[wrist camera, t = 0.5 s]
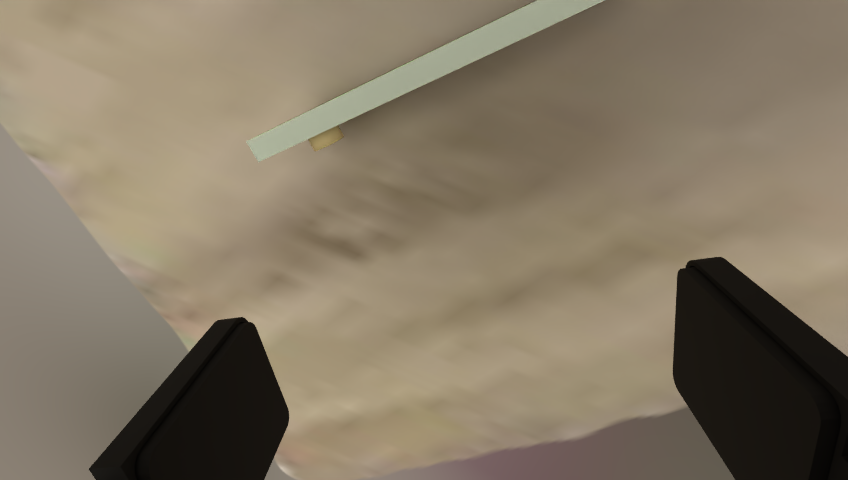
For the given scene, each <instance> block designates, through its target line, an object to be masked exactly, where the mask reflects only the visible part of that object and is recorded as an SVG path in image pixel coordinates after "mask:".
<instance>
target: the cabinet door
mask: <svg viewBox="0 0 848 480" xmlns="http://www.w3.org/2000/svg"><path fill="white" fill-rule="evenodd" d="M603 1H605V0H536V1H534V2H532V3H530V4H528V5H526V6H524V7H522V8H520V9H517V10H515V11H513V12H511V13H509V14H507V15H505V16H503V17H501V18H499V19H497V20H495V21H493V22H491V23H489V24H487V25H485V26H482V27H480V28H478V29H476V30H474V31H472V32H470V33H468V34H466V35H464V36H462V37H460V38H458V39H456V40H454V41H452V42H449V43H447V44H445V45H443V46H441V47H439V48H437V49H435V50H433V51H431V52H429V53H427V54H425V55H423V56H421V57H419V58H417V59H414V60H412V61H410V62H408V63H406V64H404V65H402V66H400V67H398V68H396V69H394V70H392V71H390V72H388V73H386V74H384V75H381V76H379V77H377V78H375V79H373V80H371V81H369V82H367V83H365V84H363V85H361V86H359V87H357V88H355V89H353V90H351V91H348V92H346V93H344V94H342V95H340V96H338V97H336V98H334V99H332V100H330V101H328V102H326V103H324V104H322V105H320V106H318V107H316V108H313V109H311V110H309V111H307V112H305V113H303V114H301V115H299V116H297V117H295V118H293V119H291V120H289V121H287V122H285V123H283V124H281V125H279V126H277V127H275V128H273V129H271V130H269V131H267V132H265V133H263V134H260V135H258V136H256V137H254V138H252V139H250V140H248V141H246V142H247V144H248V145H249V147H250V149H251V150H252V152H253V154H254V155H255V157H256V159H257V160H258V162H260V161H262V160H264V159H266V158H269V157H271V156H273V155H275V154H277V153H279V152H281V151H284V150H286V149H288V148H290V147H292V146H294V145H296V144H299V143H301V142H303V141H305V140H307V139H308V140H309V142H310V144H311V146H312V147H313V149H314V151H317V150H320V149H322V148H325V147H327V146H329V145H331V144H333V143H335V142H337V141H338V140H340V139H342V138H343V137H344V136H343V134H342V132H341V130H340V128H339V126H338V125H339V124H341V123H344V122H346V121H348V120H350V119H352V118H354V117H356V116H359V115H361V114H363V113H365V112H367V111H369V110H371V109H374V108H376V107H378V106H380V105H382V104H384V103H386V102H389V101H391V100H393V99H395V98H397V97H399V96H401V95H404V94H406V93H408V92H410V91H412V90H414V89H416V88H418V87H421V86H423V85H425V84H427V83H429V82H431V81H433V80H436V79H438V78H440V77H442V76H444V75H446V74H448V73H451V72H453V71H455V70H457V69H459V68H461V67H463V66H466V65H468V64H470V63H472V62H474V61H476V60H478V59H481V58H483V57H485V56H487V55H489V54H491V53H493V52H496V51H498V50H500V49H502V48H504V47H506V46H508V45H511V44H513V43H515V42H517V41H519V40H521V39H523V38H526V37H528V36H530V35H532V34H534V33H536V32H538V31H541V30H543V29H545V28H547V27H549V26H551V25H553V24H556V23H558V22H560V21H562V20H564V19H566V18H568V17H571V16H573V15H575V14H577V13H579V12H581V11H583V10H586V9H588V8H590V7H592V6H594V5H596V4H598V3H601V2H603Z"/></svg>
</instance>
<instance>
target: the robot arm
mask: <svg viewBox="0 0 848 480" xmlns="http://www.w3.org/2000/svg"><path fill="white" fill-rule="evenodd" d="M673 378H674V382H675V385H676V387H677V389H678V391H679V393H680V394H681V396H682V397H683V399H684V401H685V402H686V404H687V405H688V407H689V408H690V410H691V411H692V413H693V415H694V416H695V418H696V419H697V420H698V422H699V424H700V425H701V427H702V429H703V430H704V432H705V433H706V435H707V436H708V438H709V439H710V441H711V443H712V444H713V446H714V447H715V449H716V450H717V452H718V453H719V455H720V457H721V458H722V459H723V461H724V463H725V464H726V466H727V467H728V469H729V470H730V472H731V474H732V475H733V477H734V478H735V480H848V357H847V356H846V355H845V354H843V353H842V352H841V351H840V350H838V349H837V348H836V347H835V346H833V345H832V344H831V343H830V342H828V341H827V340H826V339H825V338H823V337H822V336H821V335H820V334H818V333H817V332H816V331H815V330H813V329H812V328H811V327H810V326H808V325H807V324H806V323H804V322H803V321H802V320H801V319H799V318H798V317H797V316H796V315H794V314H793V313H792V312H791V311H789V310H788V309H787V308H786V307H784V306H783V305H782V304H781V303H779V302H778V301H777V300H776V299H774V298H773V297H772V296H771V295H769V294H768V293H767V292H766V291H764V290H763V289H762V288H761V287H759V286H758V285H757V284H756V283H754V282H753V281H752V280H751V279H749V278H748V277H747V276H746V275H744V274H743V273H742V272H741V271H739V270H738V269H737V268H736V267H734V266H733V265H732V264H731V263H729V262H728V261H727V260H726V259H724V258H722V257H714V258H706V259H698V260H691V261H689V262H688V263H687V265H686V268H683V269H680V270H679V271H678V276H677V294H676V315H675V336H674V357H673ZM288 422H289V411H288V408H287V405H286V403H285V400H284V397H283V395H282V392H281V390H280V387H279V385H278V382H277V380H276V377H275V375H274V372H273V370H272V367H271V365H270V362H269V359H268V357H267V354H266V352H265V349H264V347H263V344H262V342H261V339H260V337H259V334H258V332H257V329H256V327H255V325H254V324H253V323H251V322H248V321H247V320H246V319H245V318H243V317H239V318H231V319H223V320H217V321H216V322H215V323H214V324H213V325H212V326H211V327H210V329H209V330H208V331H207V332H206V333H205V334H204V336H203V337H202V338H201V339H200V340H199V341H198V343H197V344H196V345H195V346H194V347H193V348H192V349H191V351H190V352H189V353H188V354H187V355H186V356H185V358H184V359H183V360H182V361H181V362H180V363H179V365H178V366H177V367H176V368H175V369H174V371H173V372H172V373H171V374H170V375H169V376H168V378H167V379H166V380H165V381H164V382H163V383H162V384H161V386H160V387H159V388H158V389H157V390H156V391H155V393H154V394H153V395H152V396H151V397H150V398H149V400H148V401H147V402H146V403H145V404H144V405H143V407H142V408H141V409H140V410H139V411H138V412H137V414H136V415H135V416H134V417H133V418H132V419H131V421H130V422H129V423H128V424H127V425H126V426H125V428H124V429H123V430H122V431H121V432H120V433H119V435H118V436H117V437H116V438H115V439H114V440H113V441H112V443H111V444H110V445H109V446H108V447H107V449H106V450H105V451H104V452H103V453H102V454H101V456H100V457H99V458H98V459H97V460H96V461H95V462H94V464H93V465H92V466H91V467H90V468H89V470H90V472H91V473H92V475H93V476H94V478H95V479H96V480H264V479H265V476H266V474H267V472H268V470H269V467H270V465H271V463H272V460H273V458H274V456H275V453H276V451H277V449H278V447H279V444H280V442H281V440H282V437H283V435H284V433H285V431H286V428H287V426H288Z"/></svg>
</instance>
